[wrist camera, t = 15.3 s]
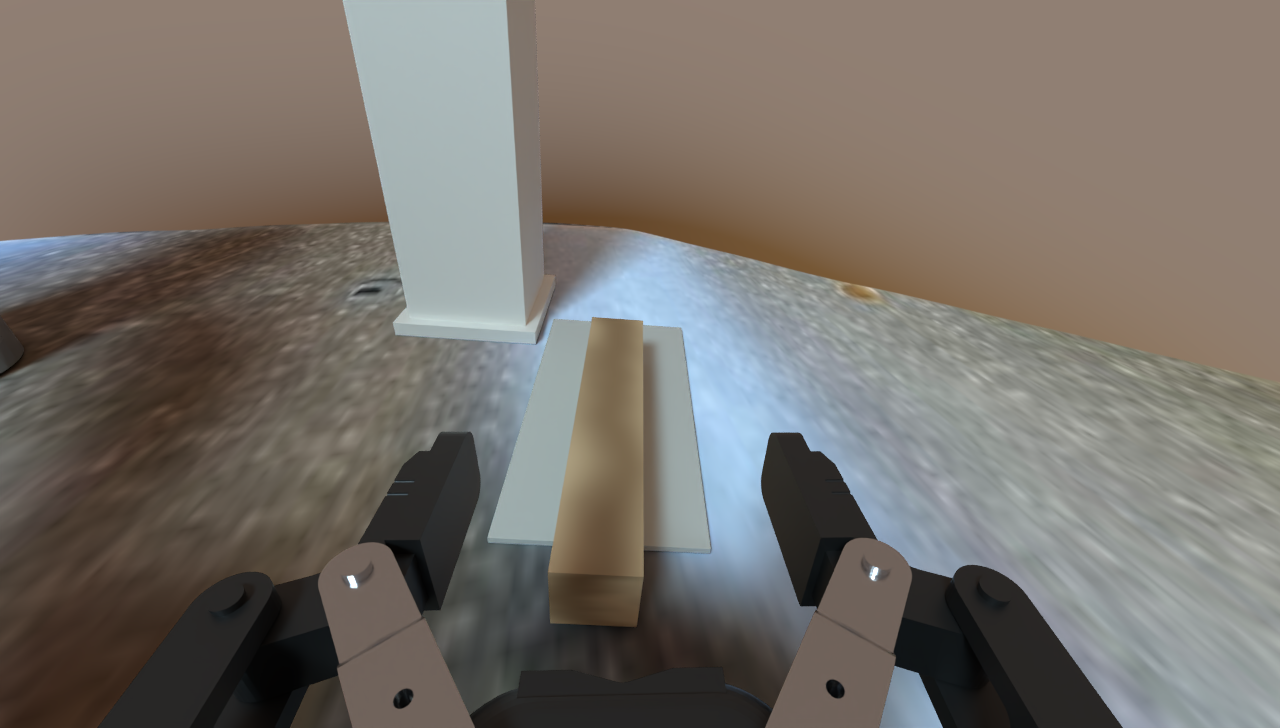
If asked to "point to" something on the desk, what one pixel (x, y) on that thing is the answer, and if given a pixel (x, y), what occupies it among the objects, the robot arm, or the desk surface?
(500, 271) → the shelf post
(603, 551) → the oak bar
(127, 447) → the desk surface
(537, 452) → the rubber mat
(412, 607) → the robot arm
